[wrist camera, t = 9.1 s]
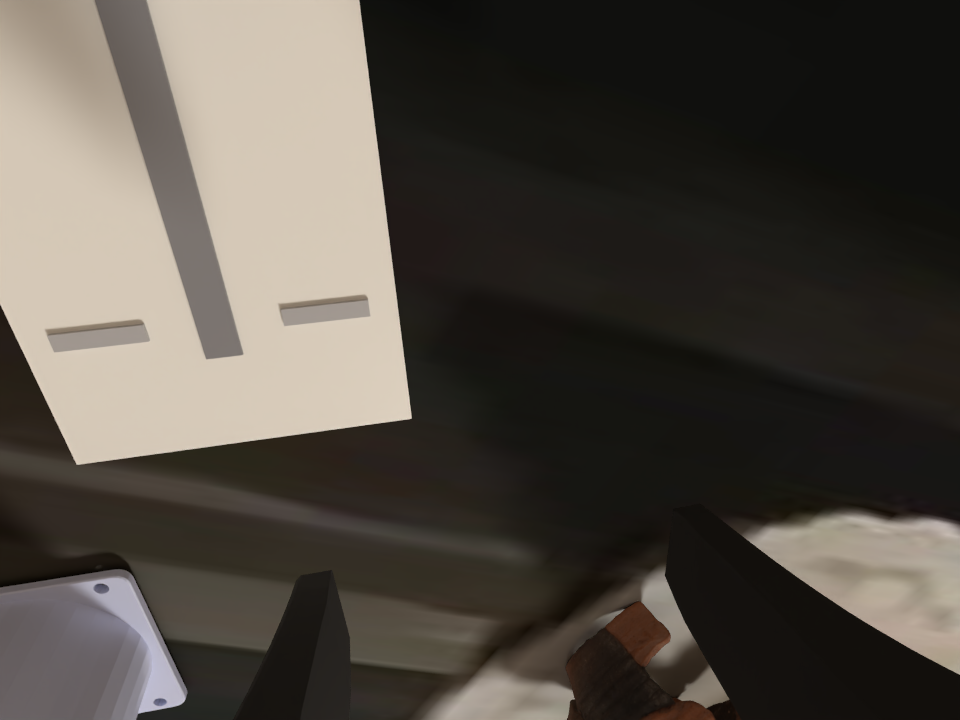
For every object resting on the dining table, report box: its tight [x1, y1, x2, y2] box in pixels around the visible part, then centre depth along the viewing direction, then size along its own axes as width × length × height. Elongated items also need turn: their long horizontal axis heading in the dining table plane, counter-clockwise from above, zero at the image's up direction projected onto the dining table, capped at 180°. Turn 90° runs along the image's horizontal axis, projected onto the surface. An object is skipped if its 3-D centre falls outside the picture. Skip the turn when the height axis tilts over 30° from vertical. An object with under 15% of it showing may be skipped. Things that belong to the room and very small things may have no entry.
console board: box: [0, 0, 412, 465], centre depth 14 cm, size 10×22×2 cm, turn 2°
